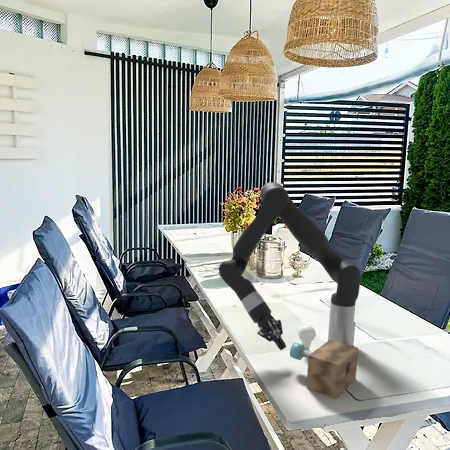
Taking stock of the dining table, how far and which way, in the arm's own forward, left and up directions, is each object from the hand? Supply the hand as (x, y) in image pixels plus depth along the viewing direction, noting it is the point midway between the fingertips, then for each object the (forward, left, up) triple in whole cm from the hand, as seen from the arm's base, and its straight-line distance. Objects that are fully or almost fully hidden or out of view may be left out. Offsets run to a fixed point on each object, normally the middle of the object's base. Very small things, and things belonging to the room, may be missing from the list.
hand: (283, 348), depth 155 cm
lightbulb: (-14, -3, -6) cm, 16 cm away
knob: (-4, +11, -2) cm, 12 cm away
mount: (-6, +16, -6) cm, 19 cm away
